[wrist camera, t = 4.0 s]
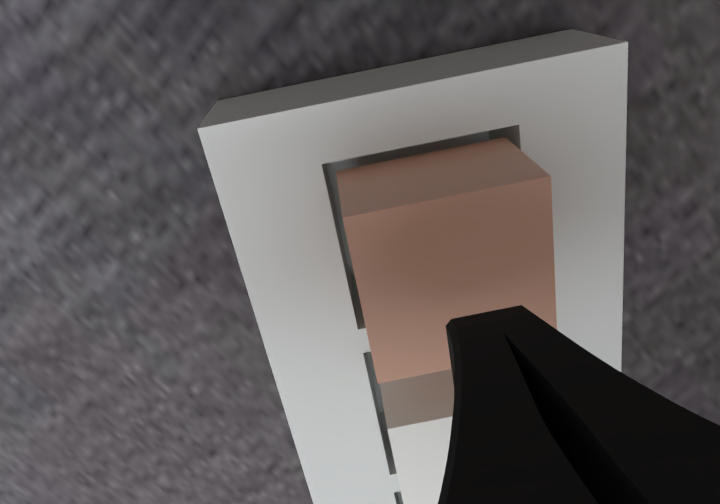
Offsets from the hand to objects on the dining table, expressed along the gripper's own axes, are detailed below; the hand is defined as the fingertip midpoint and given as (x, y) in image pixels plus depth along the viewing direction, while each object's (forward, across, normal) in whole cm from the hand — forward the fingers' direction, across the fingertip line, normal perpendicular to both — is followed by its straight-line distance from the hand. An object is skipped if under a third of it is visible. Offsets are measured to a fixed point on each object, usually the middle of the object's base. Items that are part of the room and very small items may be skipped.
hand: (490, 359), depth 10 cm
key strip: (+9, 0, +8) cm, 12 cm away
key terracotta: (+6, 0, 0) cm, 6 cm away
